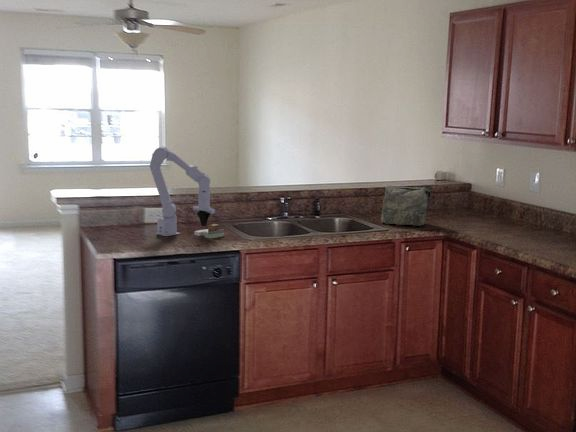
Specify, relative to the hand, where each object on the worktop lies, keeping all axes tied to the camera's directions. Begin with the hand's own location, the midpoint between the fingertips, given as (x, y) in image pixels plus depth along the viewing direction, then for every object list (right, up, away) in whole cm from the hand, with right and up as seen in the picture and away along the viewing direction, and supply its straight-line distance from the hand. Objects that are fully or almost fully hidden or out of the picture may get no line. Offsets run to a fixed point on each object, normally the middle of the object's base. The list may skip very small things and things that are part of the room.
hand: (203, 225), depth 338 cm
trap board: (+3, -5, -2) cm, 6 cm away
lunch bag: (+110, 0, +48) cm, 120 cm away
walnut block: (+6, -3, -4) cm, 8 cm away
